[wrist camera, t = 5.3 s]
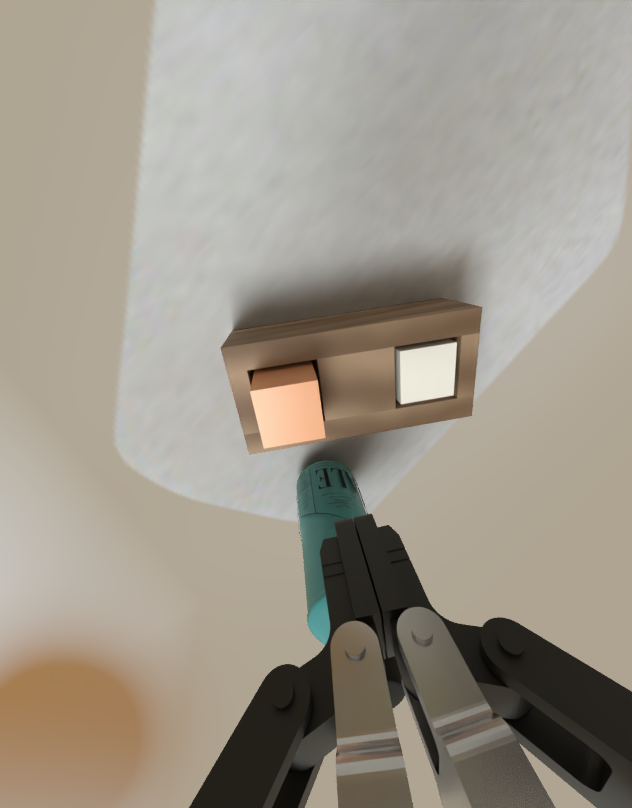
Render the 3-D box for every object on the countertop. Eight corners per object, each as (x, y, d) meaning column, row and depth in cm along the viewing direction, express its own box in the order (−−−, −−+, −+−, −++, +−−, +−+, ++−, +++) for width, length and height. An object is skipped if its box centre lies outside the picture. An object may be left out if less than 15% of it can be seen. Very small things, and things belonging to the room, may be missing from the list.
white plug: (380, 336, 28) (400, 351, 23) (427, 329, 28) (456, 342, 23) (382, 382, 29) (400, 404, 25) (426, 375, 30) (453, 395, 25)
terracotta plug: (255, 367, 24) (249, 391, 20) (310, 358, 25) (317, 380, 20) (266, 416, 26) (263, 448, 22) (317, 407, 26) (325, 437, 22)
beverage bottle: (301, 502, 36) (324, 746, 18) (287, 456, 33) (299, 690, 15) (355, 490, 36) (433, 719, 18) (347, 442, 33) (429, 658, 15)
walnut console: (232, 331, 27) (220, 348, 22) (442, 298, 28) (482, 306, 22) (254, 420, 31) (249, 454, 25) (438, 389, 32) (471, 415, 26)
